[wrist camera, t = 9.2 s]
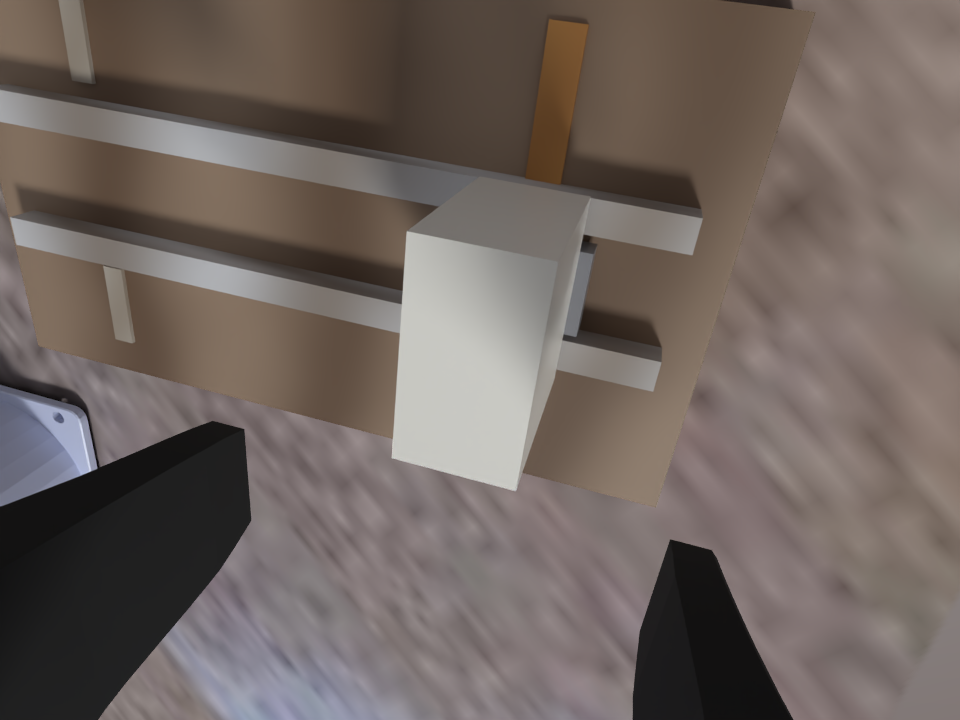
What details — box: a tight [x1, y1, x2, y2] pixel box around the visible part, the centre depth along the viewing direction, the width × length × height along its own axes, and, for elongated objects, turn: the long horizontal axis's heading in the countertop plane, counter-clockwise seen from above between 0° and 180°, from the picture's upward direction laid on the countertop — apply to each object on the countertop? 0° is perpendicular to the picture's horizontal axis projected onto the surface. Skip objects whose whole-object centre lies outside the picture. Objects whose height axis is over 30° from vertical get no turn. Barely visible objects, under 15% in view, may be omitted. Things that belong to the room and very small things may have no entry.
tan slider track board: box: [0, 0, 815, 507], centre depth 17 cm, size 20×12×3 cm, turn 83°
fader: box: [392, 176, 597, 491], centre depth 13 cm, size 3×4×5 cm
